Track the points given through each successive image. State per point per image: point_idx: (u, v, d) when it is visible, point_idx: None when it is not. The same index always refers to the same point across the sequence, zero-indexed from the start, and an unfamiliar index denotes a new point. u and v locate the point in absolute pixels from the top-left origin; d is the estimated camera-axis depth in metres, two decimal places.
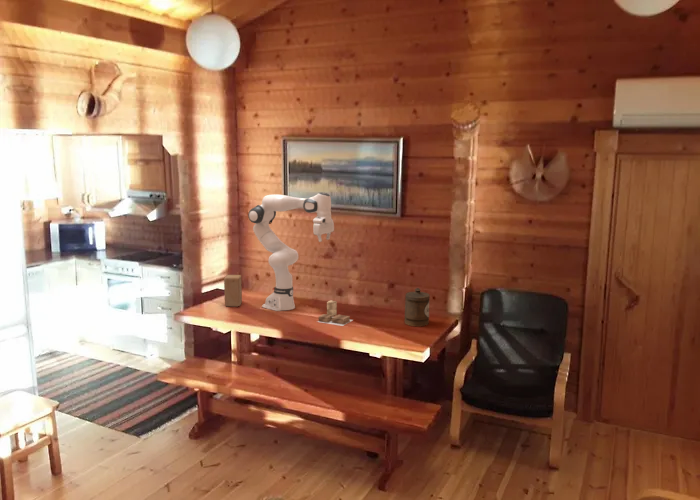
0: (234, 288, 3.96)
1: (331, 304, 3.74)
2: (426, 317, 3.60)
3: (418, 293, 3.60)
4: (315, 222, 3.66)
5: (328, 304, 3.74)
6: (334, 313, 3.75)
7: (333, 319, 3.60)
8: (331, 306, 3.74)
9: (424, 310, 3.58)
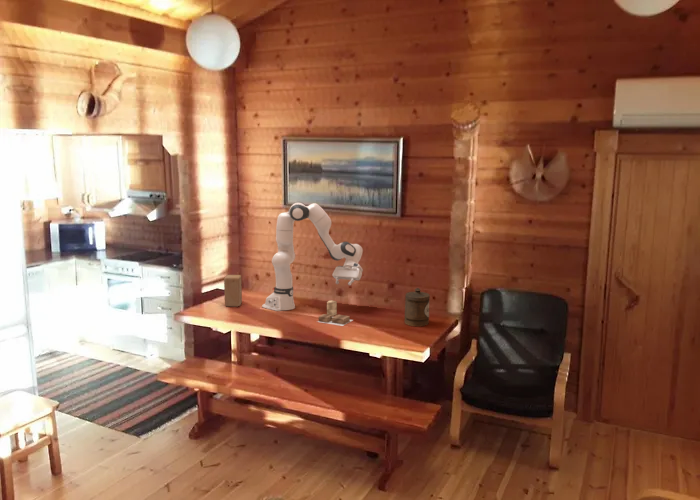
0: (234, 288, 3.96)
1: (331, 304, 3.74)
2: (426, 317, 3.60)
3: (418, 293, 3.60)
4: (360, 268, 3.86)
5: (328, 304, 3.74)
6: (334, 313, 3.75)
7: (333, 319, 3.60)
8: (331, 306, 3.74)
9: (424, 310, 3.58)
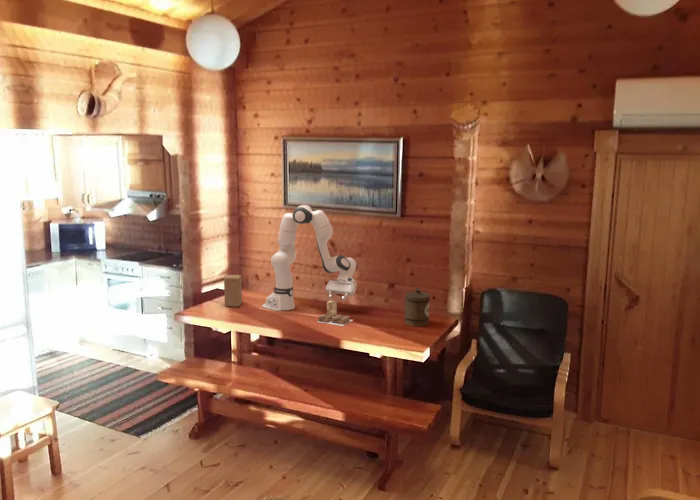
0: (234, 288, 3.96)
1: (331, 304, 3.74)
2: (426, 317, 3.60)
3: (418, 293, 3.60)
4: (354, 283, 3.82)
5: (328, 304, 3.74)
6: (334, 313, 3.75)
7: (333, 319, 3.60)
8: (331, 306, 3.74)
9: (424, 310, 3.58)
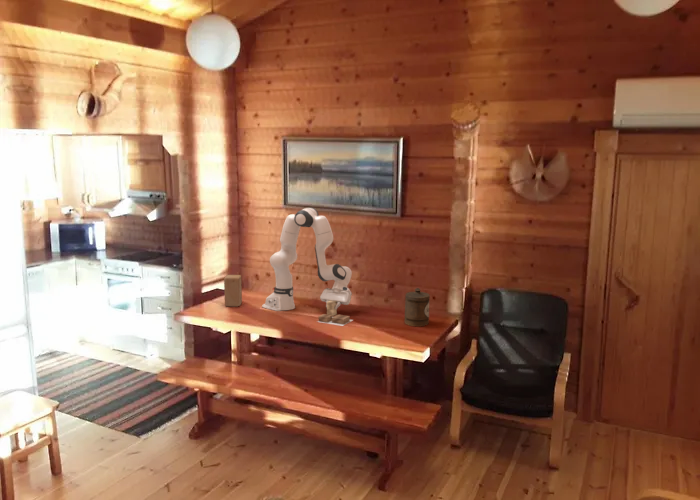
0: (234, 288, 3.96)
1: (331, 304, 3.74)
2: (426, 317, 3.60)
3: (418, 293, 3.60)
4: (349, 292, 3.77)
5: (328, 304, 3.74)
6: (334, 313, 3.75)
7: (333, 319, 3.60)
8: (331, 306, 3.74)
9: (424, 310, 3.58)
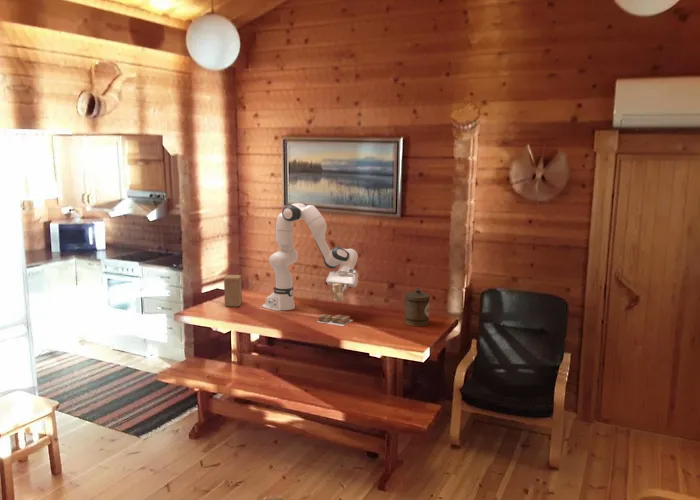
0: (234, 288, 3.96)
1: (337, 287, 3.63)
2: (426, 317, 3.60)
3: (418, 293, 3.60)
4: (356, 274, 3.66)
5: (335, 286, 3.64)
6: (341, 296, 3.65)
7: (333, 319, 3.60)
8: (338, 289, 3.63)
9: (424, 310, 3.58)
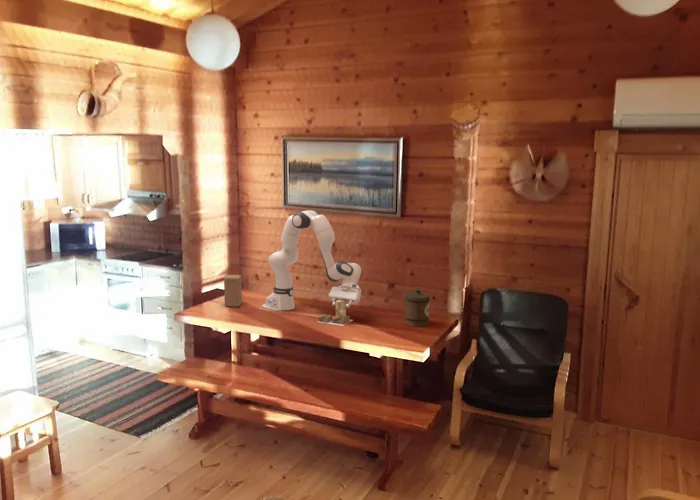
0: (234, 288, 3.96)
1: (340, 304, 3.59)
2: (426, 317, 3.60)
3: (418, 293, 3.60)
4: (359, 289, 3.62)
5: (337, 303, 3.59)
6: (343, 313, 3.61)
7: (333, 319, 3.60)
8: (340, 306, 3.59)
9: (424, 310, 3.58)
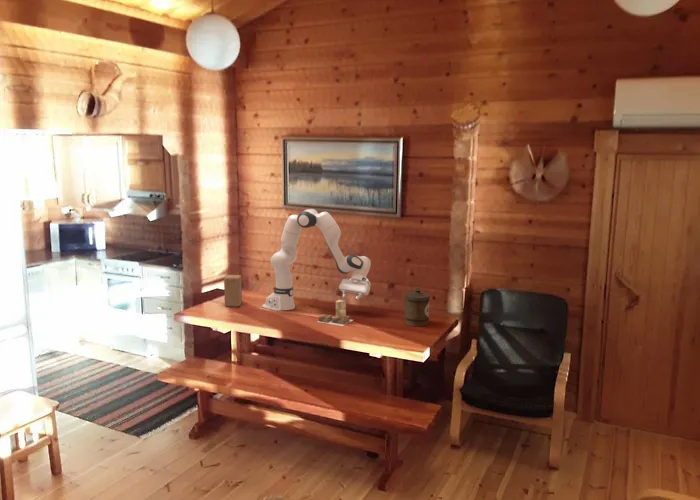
0: (234, 288, 3.96)
1: (340, 304, 3.59)
2: (426, 317, 3.60)
3: (418, 293, 3.60)
4: (368, 282, 3.74)
5: (337, 303, 3.59)
6: (343, 313, 3.61)
7: (333, 319, 3.60)
8: (340, 306, 3.59)
9: (424, 310, 3.58)
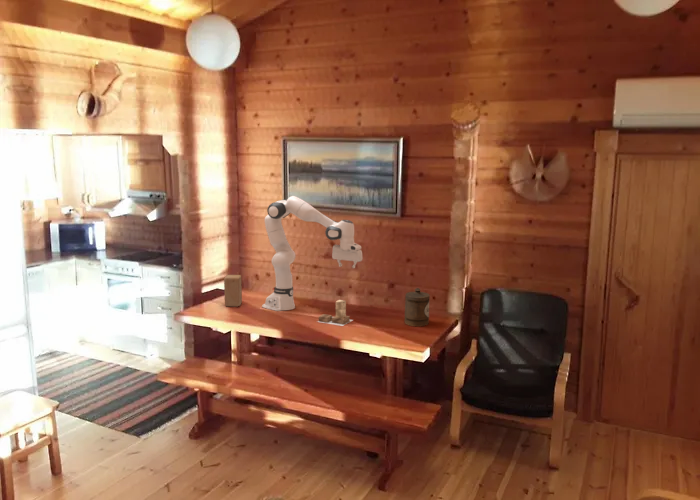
0: (234, 288, 3.96)
1: (340, 304, 3.59)
2: (426, 317, 3.60)
3: (418, 293, 3.60)
4: (358, 249, 3.70)
5: (337, 303, 3.59)
6: (343, 313, 3.61)
7: (333, 319, 3.60)
8: (340, 306, 3.59)
9: (424, 310, 3.58)
